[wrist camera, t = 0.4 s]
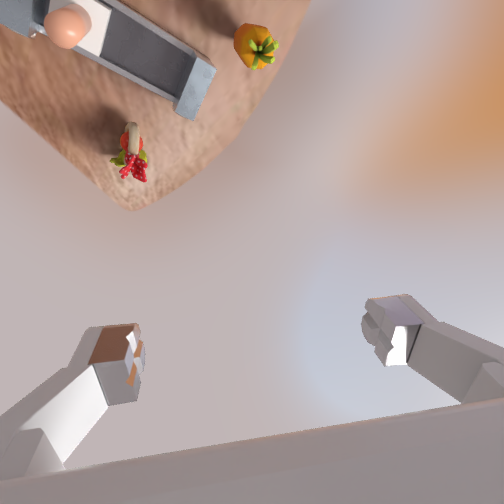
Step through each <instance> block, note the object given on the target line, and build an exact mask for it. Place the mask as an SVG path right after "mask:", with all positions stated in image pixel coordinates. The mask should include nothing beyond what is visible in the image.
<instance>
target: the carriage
mask: <svg viewBox="0 0 504 504" xmlns="http://www.w3.org/2000/svg"><path fill="white" fill-rule="evenodd" d="M111 11H112V8H110V7H108V6H107V5H105V4H104V3H102V2H100V1H99V0H50V4H49V11H48V14H47V15H46V17H45V19H44V28H45V31H46V33H47V35H48V37H49V38H50V39H51V40H52V41H53V42H54V43H55V44H56V45H58V46H60V47H62V48H67V49H68V48H73V47H74V46H76V45H78V46H80V47H81V48H83V49H85V50H87V51H89V52H91V53H93V54H95V55H96V56H98V57H99V55H100V54H101V51H102V47H103V43H104V39H105V35H106V31H107V27H108V23H109V19H110V15H111Z"/></svg>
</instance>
